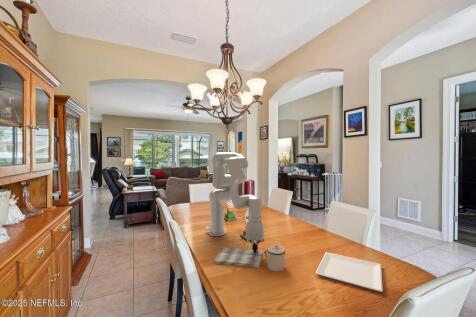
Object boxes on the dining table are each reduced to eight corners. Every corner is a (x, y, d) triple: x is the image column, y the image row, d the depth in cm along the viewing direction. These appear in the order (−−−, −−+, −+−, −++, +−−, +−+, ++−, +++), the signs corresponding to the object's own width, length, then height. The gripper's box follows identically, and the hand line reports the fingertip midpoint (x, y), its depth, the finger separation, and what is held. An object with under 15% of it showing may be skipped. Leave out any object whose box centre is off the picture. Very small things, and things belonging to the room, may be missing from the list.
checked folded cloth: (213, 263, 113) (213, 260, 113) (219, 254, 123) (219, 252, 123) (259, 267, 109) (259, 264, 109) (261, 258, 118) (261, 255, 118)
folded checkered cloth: (219, 254, 124) (219, 251, 124) (222, 249, 129) (222, 247, 129) (261, 258, 119) (261, 255, 119) (262, 253, 125) (262, 250, 124)
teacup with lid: (289, 267, 109) (288, 244, 109) (278, 274, 103) (277, 249, 103) (270, 259, 118) (270, 237, 118) (259, 264, 112) (258, 242, 111)
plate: (382, 296, 87) (382, 291, 87) (315, 277, 101) (315, 272, 101) (380, 267, 109) (380, 263, 109) (325, 255, 123) (325, 251, 123)
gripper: (240, 220, 121) (240, 252, 122) (267, 221, 118) (267, 255, 119) (243, 216, 129) (243, 247, 129) (268, 217, 126) (268, 249, 126)
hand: (255, 250), depth 124 cm, fingers closed
